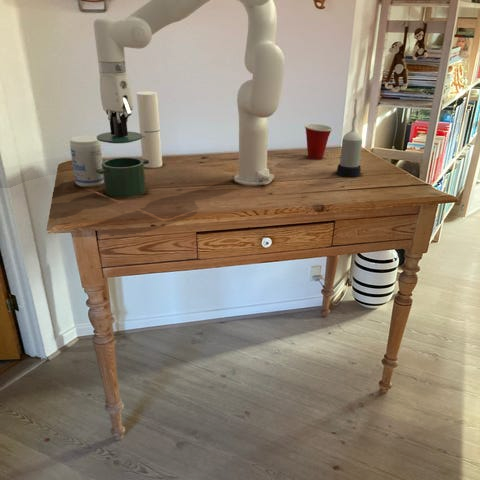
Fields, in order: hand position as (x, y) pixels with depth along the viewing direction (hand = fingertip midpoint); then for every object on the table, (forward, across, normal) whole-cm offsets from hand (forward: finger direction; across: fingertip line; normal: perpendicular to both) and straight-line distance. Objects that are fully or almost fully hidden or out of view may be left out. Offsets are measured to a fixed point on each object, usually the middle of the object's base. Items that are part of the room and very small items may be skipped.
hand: (119, 134), depth 158 cm
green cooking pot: (+18, 0, 0) cm, 18 cm away
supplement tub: (+18, +16, +3) cm, 24 cm away
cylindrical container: (+18, +20, -26) cm, 37 cm away
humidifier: (+18, -38, -69) cm, 81 cm away
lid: (+1, 0, 0) cm, 1 cm away
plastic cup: (+18, -16, -79) cm, 83 cm away
